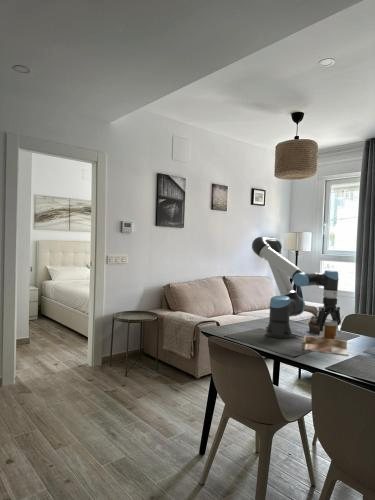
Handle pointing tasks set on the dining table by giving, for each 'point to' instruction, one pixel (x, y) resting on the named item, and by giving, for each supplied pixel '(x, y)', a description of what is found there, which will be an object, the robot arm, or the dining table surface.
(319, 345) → the brown beige flat box
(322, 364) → the dining table surface
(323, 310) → the robot arm
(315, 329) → the cupcake
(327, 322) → the cup of beer
